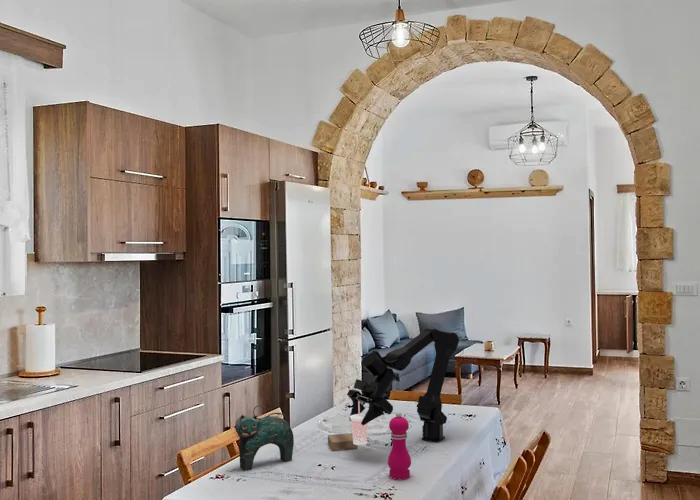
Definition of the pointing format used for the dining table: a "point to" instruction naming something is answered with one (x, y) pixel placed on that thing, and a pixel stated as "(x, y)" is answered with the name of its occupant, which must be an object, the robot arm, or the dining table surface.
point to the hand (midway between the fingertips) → (356, 422)
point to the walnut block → (341, 442)
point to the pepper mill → (399, 448)
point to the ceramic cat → (263, 437)
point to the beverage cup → (358, 428)
